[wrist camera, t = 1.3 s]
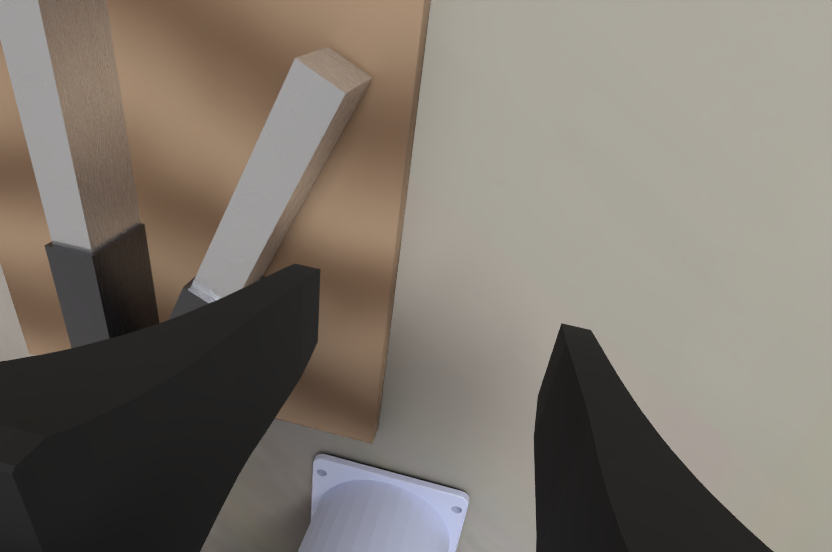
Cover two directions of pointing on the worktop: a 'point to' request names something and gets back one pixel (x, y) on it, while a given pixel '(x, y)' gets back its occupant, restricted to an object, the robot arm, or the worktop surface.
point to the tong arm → (277, 175)
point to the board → (225, 162)
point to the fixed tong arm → (81, 163)
